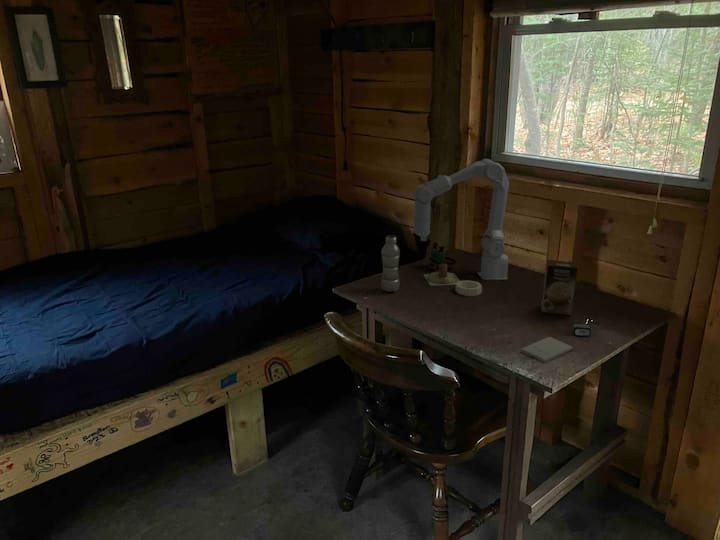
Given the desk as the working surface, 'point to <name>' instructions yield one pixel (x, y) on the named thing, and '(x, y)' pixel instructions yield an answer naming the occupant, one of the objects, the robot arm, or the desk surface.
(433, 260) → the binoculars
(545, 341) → the external hard drive
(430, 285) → the mat
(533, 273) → the desk surface
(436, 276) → the lid
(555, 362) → the desk surface
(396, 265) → the plastic bottle
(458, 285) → the bowl
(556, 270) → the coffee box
